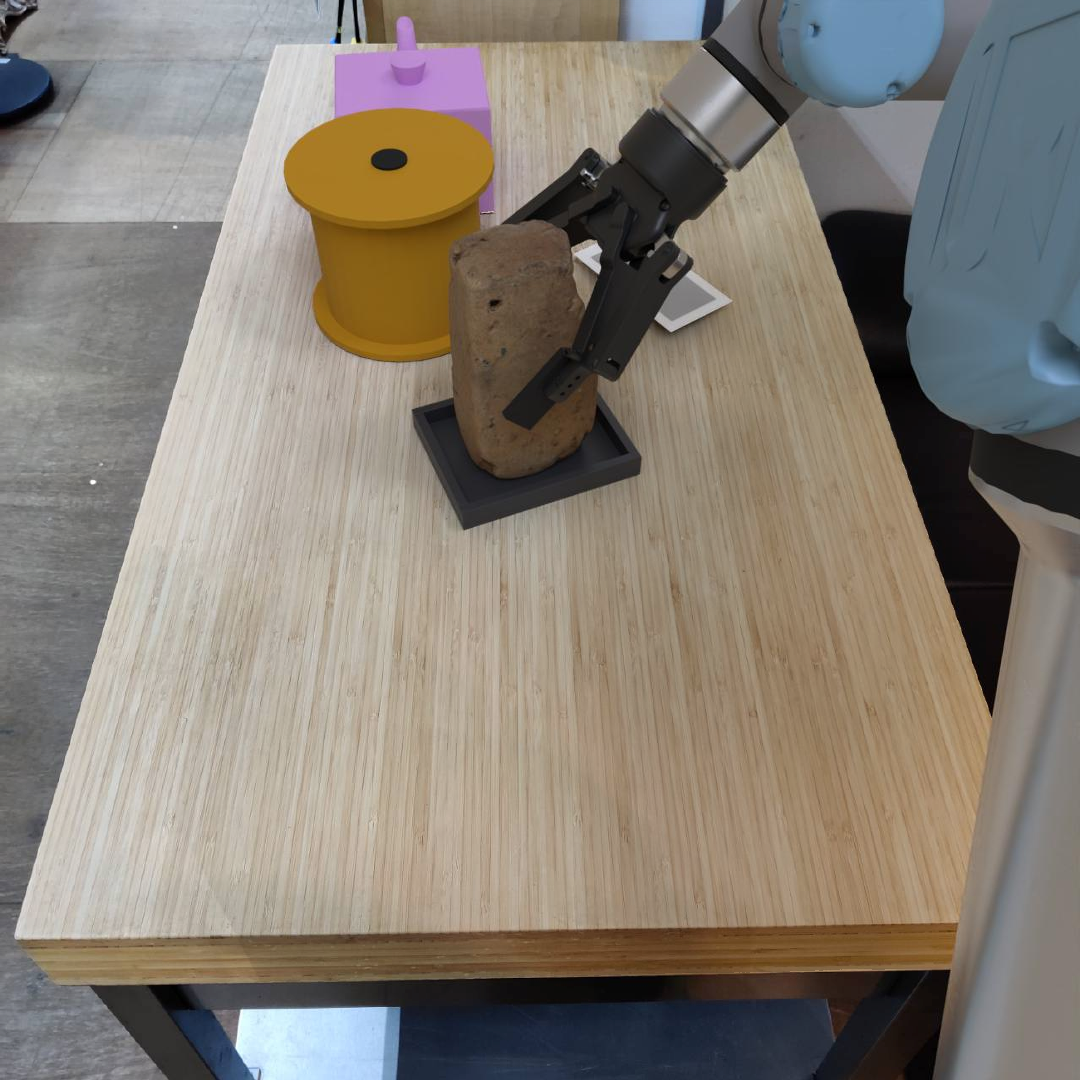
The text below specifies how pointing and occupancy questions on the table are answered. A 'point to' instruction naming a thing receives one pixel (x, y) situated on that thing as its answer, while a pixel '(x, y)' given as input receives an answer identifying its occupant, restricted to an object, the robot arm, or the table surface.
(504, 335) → the block
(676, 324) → the touchpad
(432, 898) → the table surface
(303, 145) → the spool
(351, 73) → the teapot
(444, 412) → the dark shallow tray
